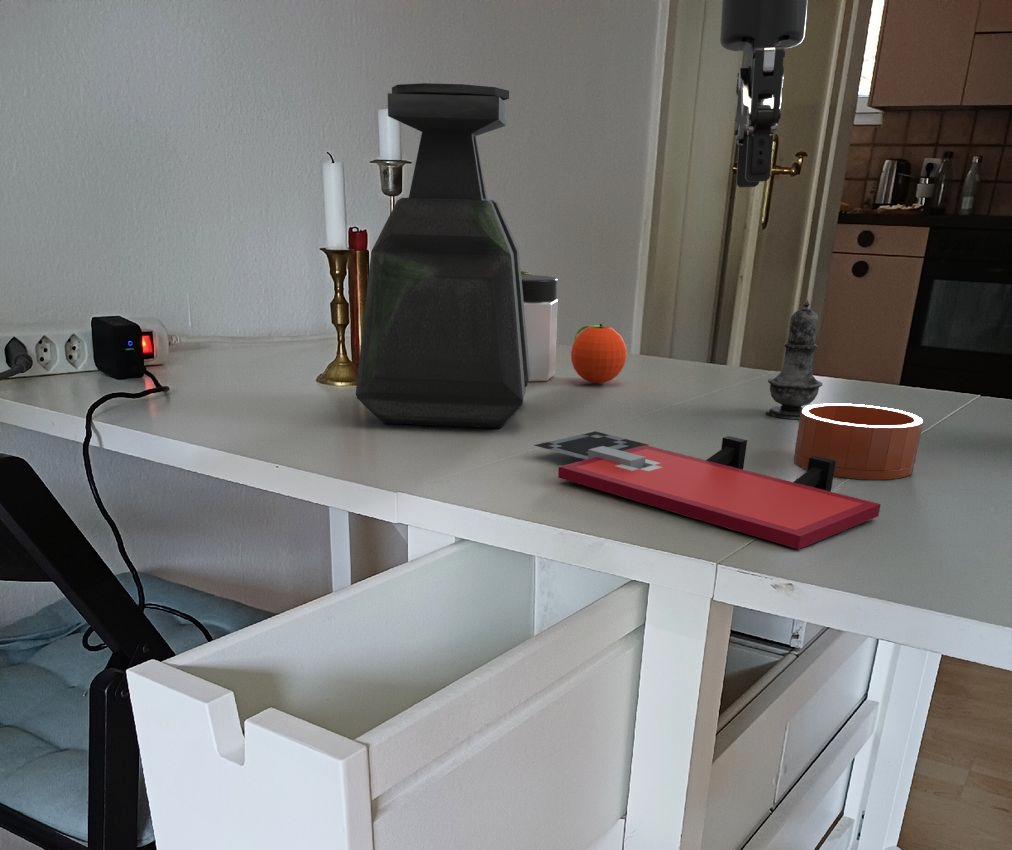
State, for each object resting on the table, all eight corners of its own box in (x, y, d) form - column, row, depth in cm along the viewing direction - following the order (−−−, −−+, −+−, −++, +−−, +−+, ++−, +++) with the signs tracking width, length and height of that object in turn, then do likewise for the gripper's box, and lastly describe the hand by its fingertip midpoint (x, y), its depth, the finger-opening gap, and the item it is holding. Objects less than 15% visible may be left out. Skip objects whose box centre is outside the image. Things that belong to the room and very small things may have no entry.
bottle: (521, 435, 99) (533, 82, 86) (355, 428, 100) (342, 77, 87) (529, 401, 115) (540, 99, 102) (386, 395, 116) (379, 95, 103)
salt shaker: (753, 410, 114) (767, 297, 109) (796, 408, 116) (813, 297, 111) (783, 421, 109) (800, 303, 104) (828, 418, 111) (847, 303, 106)
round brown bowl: (886, 452, 97) (896, 405, 95) (931, 481, 88) (942, 428, 86) (779, 450, 96) (786, 402, 95) (813, 478, 87) (822, 426, 85)
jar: (474, 375, 130) (475, 275, 125) (517, 369, 136) (520, 273, 131) (526, 385, 125) (529, 281, 120) (568, 378, 130) (573, 278, 125)
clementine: (552, 380, 129) (554, 321, 126) (589, 375, 133) (593, 318, 130) (598, 389, 123) (602, 328, 120) (635, 384, 128) (640, 325, 125)
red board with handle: (607, 438, 98) (495, 464, 88) (609, 408, 96) (495, 432, 87) (900, 512, 79) (797, 555, 69) (908, 476, 77) (803, 516, 68)
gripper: (822, -39, 84) (803, 178, 90) (796, 0, 97) (781, 187, 103) (730, -34, 85) (718, 181, 91) (717, 3, 98) (707, 189, 104)
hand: (752, 184), depth 97 cm, fingers open, 8 cm apart
